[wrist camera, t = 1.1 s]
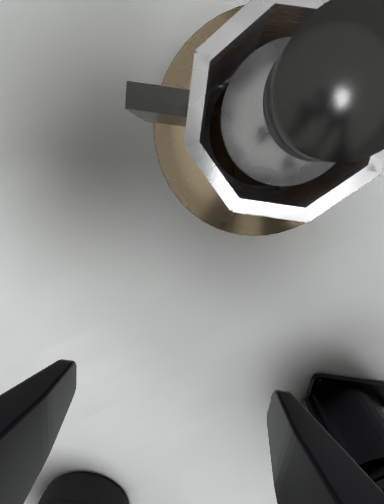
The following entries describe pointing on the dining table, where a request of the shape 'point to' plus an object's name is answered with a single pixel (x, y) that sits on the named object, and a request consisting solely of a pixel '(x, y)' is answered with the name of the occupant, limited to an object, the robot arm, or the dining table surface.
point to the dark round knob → (309, 96)
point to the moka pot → (209, 129)
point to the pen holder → (83, 490)
